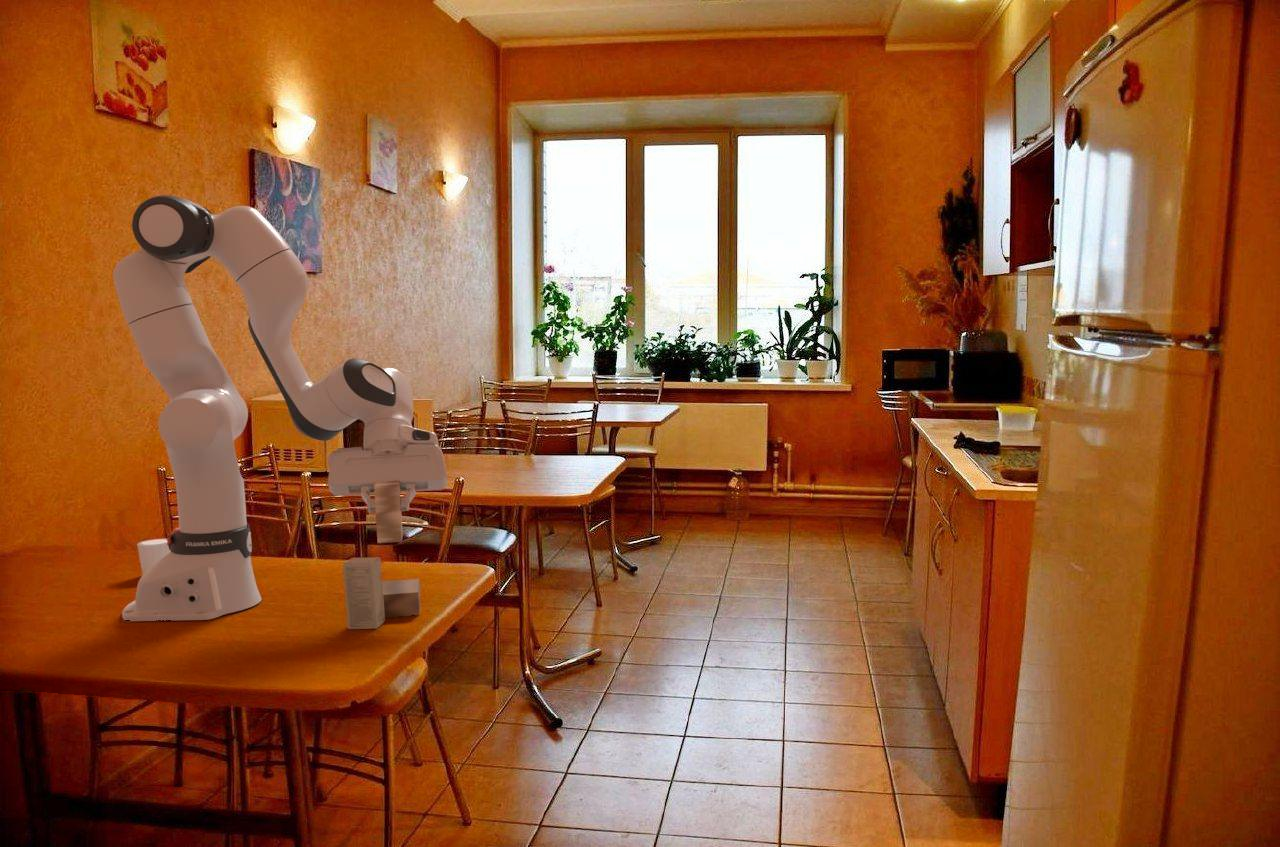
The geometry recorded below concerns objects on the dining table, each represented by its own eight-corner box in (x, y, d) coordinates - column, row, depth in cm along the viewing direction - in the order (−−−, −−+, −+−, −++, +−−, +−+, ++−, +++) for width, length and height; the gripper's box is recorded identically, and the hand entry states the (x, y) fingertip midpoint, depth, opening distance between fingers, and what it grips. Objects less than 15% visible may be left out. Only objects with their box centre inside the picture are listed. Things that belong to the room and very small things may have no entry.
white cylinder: (170, 569, 206) (168, 536, 206) (182, 575, 201) (179, 541, 201) (135, 575, 202) (132, 541, 201) (145, 582, 197) (143, 547, 196)
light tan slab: (364, 619, 169) (363, 596, 168) (368, 604, 178) (367, 582, 177) (419, 615, 171) (418, 592, 170) (420, 600, 179) (419, 578, 179)
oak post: (377, 543, 171) (374, 485, 169) (379, 538, 174) (375, 481, 173) (401, 541, 171) (398, 483, 170) (402, 536, 175) (399, 480, 174)
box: (386, 621, 167) (382, 556, 166) (376, 629, 163) (373, 563, 162) (355, 621, 168) (352, 556, 167) (345, 629, 164) (342, 563, 163)
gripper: (326, 438, 176) (323, 503, 167) (445, 432, 180) (447, 495, 171) (331, 459, 181) (327, 523, 172) (446, 454, 184) (448, 516, 176)
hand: (388, 509), depth 172 cm, fingers closed on oak post, 4 cm apart
